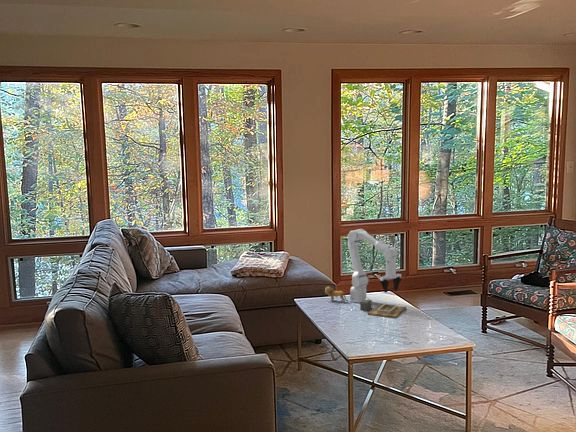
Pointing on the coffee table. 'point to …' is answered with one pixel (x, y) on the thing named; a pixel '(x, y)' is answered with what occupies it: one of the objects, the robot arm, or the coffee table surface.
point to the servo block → (365, 305)
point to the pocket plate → (387, 310)
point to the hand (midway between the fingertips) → (390, 291)
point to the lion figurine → (334, 293)
